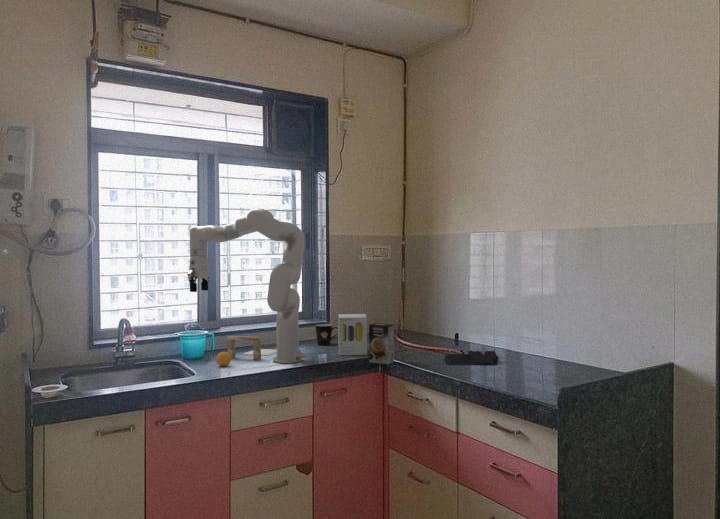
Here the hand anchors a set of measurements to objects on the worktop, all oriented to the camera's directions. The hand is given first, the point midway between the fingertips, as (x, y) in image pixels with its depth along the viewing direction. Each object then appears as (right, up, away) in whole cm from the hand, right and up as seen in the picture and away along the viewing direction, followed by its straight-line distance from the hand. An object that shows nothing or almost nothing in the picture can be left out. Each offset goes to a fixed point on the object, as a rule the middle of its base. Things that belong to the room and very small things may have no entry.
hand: (199, 291), depth 237 cm
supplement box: (+70, -29, +5) cm, 76 cm away
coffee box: (+82, -29, -17) cm, 89 cm away
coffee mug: (+56, -29, +28) cm, 69 cm away
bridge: (+22, -30, -6) cm, 37 cm away
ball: (+17, -27, -21) cm, 38 cm away
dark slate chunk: (+120, -29, -18) cm, 125 cm away
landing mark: (+27, -30, +9) cm, 41 cm away
